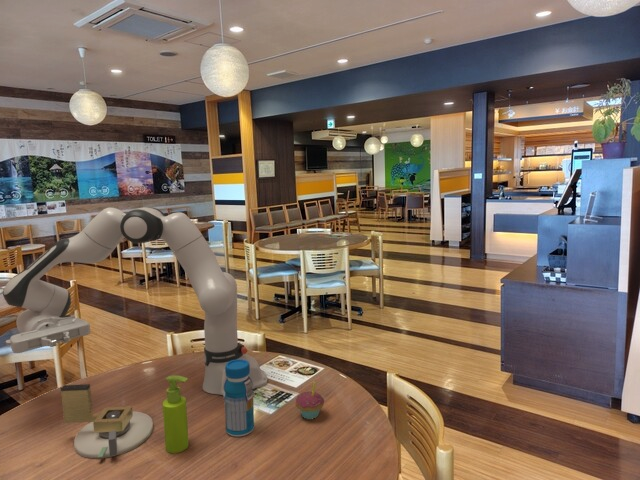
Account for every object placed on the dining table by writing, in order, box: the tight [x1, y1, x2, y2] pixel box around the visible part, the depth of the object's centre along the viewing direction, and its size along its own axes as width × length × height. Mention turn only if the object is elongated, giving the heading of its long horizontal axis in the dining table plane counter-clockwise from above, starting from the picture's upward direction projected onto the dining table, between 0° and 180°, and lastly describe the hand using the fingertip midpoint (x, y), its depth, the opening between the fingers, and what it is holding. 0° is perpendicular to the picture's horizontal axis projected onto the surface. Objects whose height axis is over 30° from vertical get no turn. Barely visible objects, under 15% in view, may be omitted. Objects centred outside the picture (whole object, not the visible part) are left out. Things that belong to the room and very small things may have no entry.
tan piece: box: [60, 383, 133, 433], centre depth 119 cm, size 17×8×12 cm, turn 94°
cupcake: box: [295, 379, 325, 420], centre depth 129 cm, size 9×8×12 cm
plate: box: [73, 410, 154, 459], centre depth 119 cm, size 20×22×6 cm
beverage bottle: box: [223, 359, 255, 438], centre depth 122 cm, size 8×8×20 cm
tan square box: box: [99, 411, 130, 439], centre depth 120 cm, size 8×8×5 cm
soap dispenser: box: [162, 375, 189, 454], centre depth 114 cm, size 6×7×20 cm
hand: (60, 342), depth 122 cm, fingers open, 2 cm apart
